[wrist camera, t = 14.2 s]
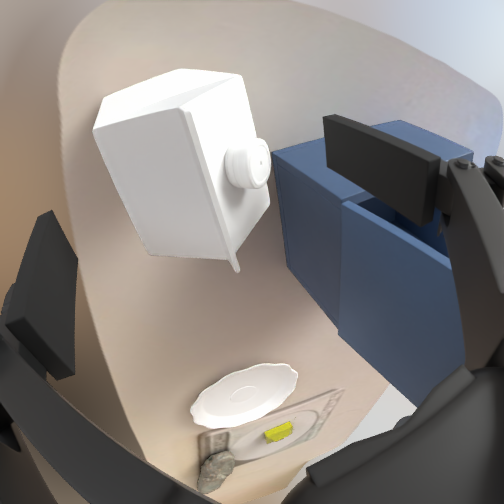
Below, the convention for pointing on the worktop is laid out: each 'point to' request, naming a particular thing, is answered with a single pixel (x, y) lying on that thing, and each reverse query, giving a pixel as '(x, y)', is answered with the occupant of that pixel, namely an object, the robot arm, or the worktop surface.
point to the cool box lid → (398, 304)
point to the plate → (244, 395)
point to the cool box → (329, 210)
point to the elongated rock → (215, 471)
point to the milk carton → (186, 162)
